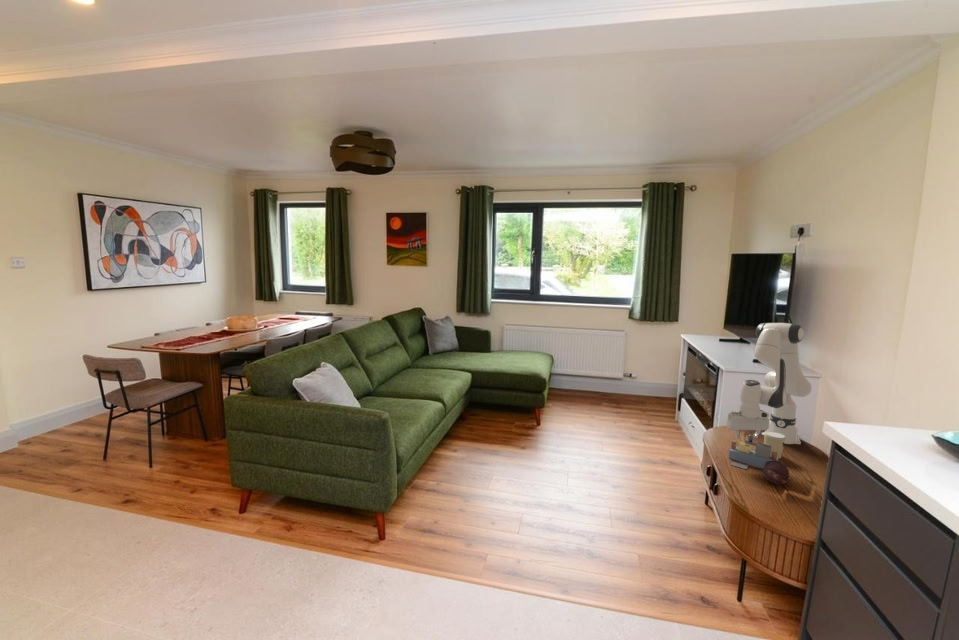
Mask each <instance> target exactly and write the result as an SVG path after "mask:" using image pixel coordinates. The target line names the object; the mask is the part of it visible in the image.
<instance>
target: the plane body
mask: <svg viewBox="0 0 959 640" xmlns="http://www.w3.org/2000/svg"><path fill="white" fill-rule="evenodd" d="M756 443H759V444H763V445H764V446H762V445H758V444H756V446H755V450H752V449H751V452H750V453H749V454H746V453H743V452H739V451H738V446H737V440H734V439H732V441H731V446H730V449H729V451H728V452H729V453H728V459H730V460H732V461H736V462H739V463H743V464H746V465H749V466H752V467H755V468H758V469H762V470H763V468H764V465H765V463H766V462H767V461H773V460H774V461H775V460H776V461H778V462H779V458H778V457H777V454H778V453H777V452H775V451H772V454H771V447H772V446H771V445H767V444H764V442H763V443H762V442H756Z"/></svg>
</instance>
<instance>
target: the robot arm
mask: <svg viewBox="0 0 959 640" xmlns="http://www.w3.org/2000/svg"><path fill="white" fill-rule="evenodd" d="M804 335H805V332H804V329H803V327H802V326H801V325H800V324H798V323H789V322H788V323H787V322H763V323H762V322H761V323H760V324H758V325H757V326H756V328H755V336H756V338H757V341H756V344H755V348H754V357H755V358H756V359H757V361H758V362H760V363H761V364H762V365H764V366H766V367H768V368H771V369H772V370H773V371H772V370H771V371H769V372H767V373H766V374H765V376H764V379H763V381H764V384H765V385H761V383H760V382H759V381H758V380H755V379H745V380H743V383H742V385H741V389H740V395H739V397H740V402H739V406H738V411H731V412H729V413H728V414H727V420H726V428H728V429H729V430H732V431H733V433H734V438H737V439H740V437H741V435H740V434H739V431H755V432H754V433H753V434H752V436H753V439H758V438H759V436H760V433H761V435H762V436H764V433H765V432H776V433H780V434H782V435H784V436H785V442H784V445H802V444H801V443H802V442H801V440H800V439H801V438H800V437H799V435H798V428H797V427H796V423H797V418H796V414H797V404H796V402H795V401H794V400H793V398H792V396H793V397H798V398H799V397H800V398H805V397H808V395H810V394H811V393H812V384H811V382H810V381H809V380H808V379H807V378H806V377H805V375H804V374H803V372H802V369H801V366H800V361H799V358H800V357H799V344H798V343H800V342H801V341H802V340H803V339H804ZM761 405H762V406H767V407H770V408H772V409H771V413H770V414H769V413H768V412H766V411H764V410H763V409H760V406H761ZM769 417H770V419H769ZM762 431H764V432H762Z"/></svg>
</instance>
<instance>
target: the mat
mask: <svg viewBox="0 0 959 640" xmlns="http://www.w3.org/2000/svg"><path fill="white" fill-rule="evenodd" d="M730 466H732V467H735V468H739V469H741V470H748V469H749V467H750V465H748V464H745V463H742V462H739V461H736V460H732V462H731V463H730Z"/></svg>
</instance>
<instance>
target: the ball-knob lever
mask: <svg viewBox="0 0 959 640" xmlns="http://www.w3.org/2000/svg"><path fill="white" fill-rule="evenodd" d="M753 439H754V438H753V434H748V435H747V439H746V440H745V441H744V442H745V443H746V444H750V445H752V446H753V447H756V444H758V445H762V446H764V445H763V444H764V443H763V444H759V443H760V442H759V443H757V442H755V441H753Z"/></svg>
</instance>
